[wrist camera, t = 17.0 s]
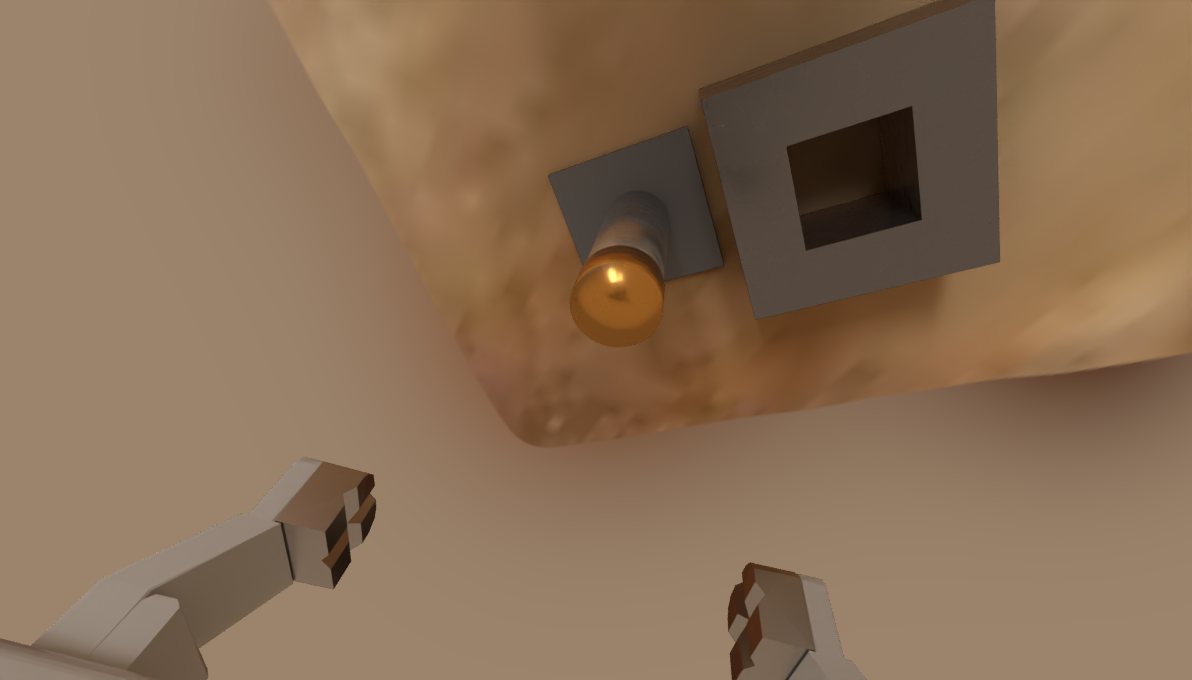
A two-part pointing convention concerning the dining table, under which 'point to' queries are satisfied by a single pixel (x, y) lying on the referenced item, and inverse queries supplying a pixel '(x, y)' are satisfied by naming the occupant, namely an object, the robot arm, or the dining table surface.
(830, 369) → the dining table surface
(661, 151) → the mat
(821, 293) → the grey square block
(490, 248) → the dining table surface
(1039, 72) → the dining table surface
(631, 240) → the cylindrical container
